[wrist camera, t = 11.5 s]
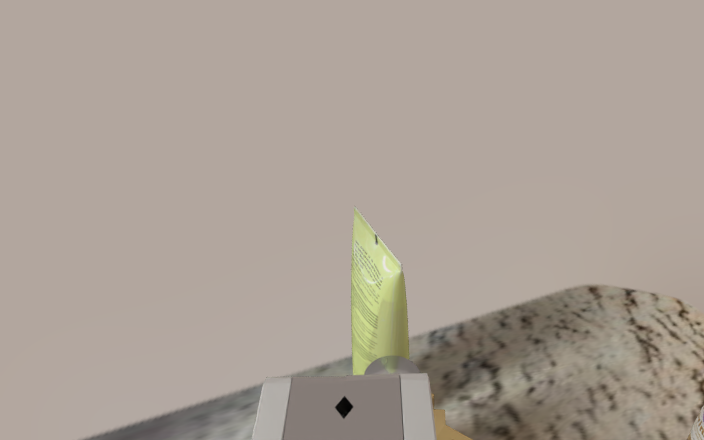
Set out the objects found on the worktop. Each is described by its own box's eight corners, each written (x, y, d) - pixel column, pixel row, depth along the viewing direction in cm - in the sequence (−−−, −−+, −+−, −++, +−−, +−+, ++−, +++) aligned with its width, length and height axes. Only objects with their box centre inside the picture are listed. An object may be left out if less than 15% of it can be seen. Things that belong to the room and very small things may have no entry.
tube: (425, 397, 47) (427, 220, 36) (405, 444, 43) (401, 263, 32) (368, 377, 49) (354, 205, 38) (344, 421, 45) (321, 244, 34)
